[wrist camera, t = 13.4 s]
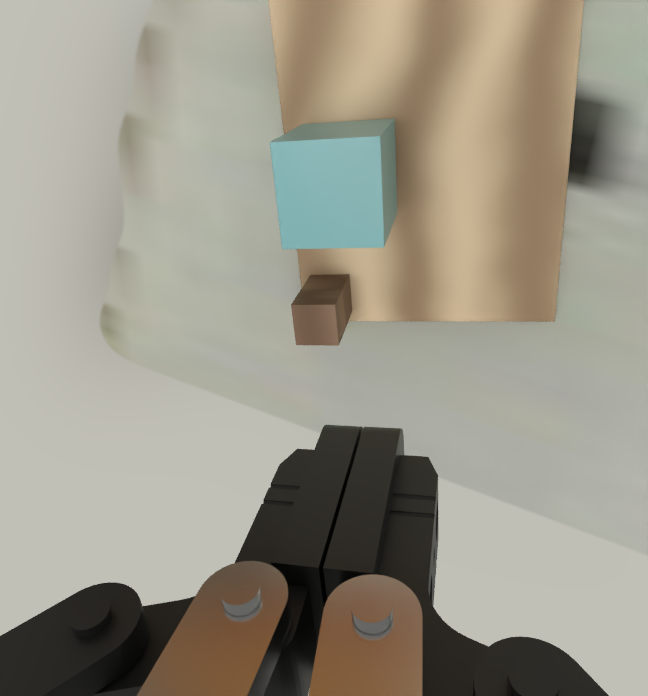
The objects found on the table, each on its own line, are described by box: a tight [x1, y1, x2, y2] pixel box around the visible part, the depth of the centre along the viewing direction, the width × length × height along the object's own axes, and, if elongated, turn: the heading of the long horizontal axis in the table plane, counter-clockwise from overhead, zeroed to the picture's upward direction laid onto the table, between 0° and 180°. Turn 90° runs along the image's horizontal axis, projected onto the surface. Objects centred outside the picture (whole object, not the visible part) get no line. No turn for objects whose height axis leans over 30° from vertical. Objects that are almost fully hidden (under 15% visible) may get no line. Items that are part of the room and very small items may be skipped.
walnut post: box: [291, 274, 352, 345], centre depth 37 cm, size 3×3×5 cm
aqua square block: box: [270, 118, 397, 249], centre depth 31 cm, size 5×5×7 cm
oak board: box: [269, 0, 584, 321], centre depth 33 cm, size 16×25×1 cm, turn 5°
